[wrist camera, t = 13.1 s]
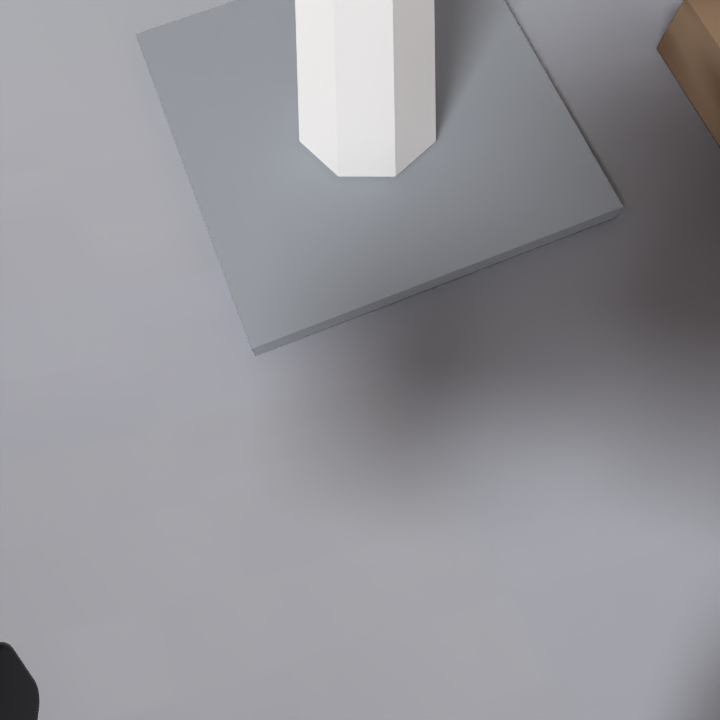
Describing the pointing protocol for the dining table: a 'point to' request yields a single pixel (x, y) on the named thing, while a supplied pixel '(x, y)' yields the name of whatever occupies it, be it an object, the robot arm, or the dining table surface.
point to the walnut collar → (696, 57)
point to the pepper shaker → (366, 83)
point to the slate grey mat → (367, 194)
